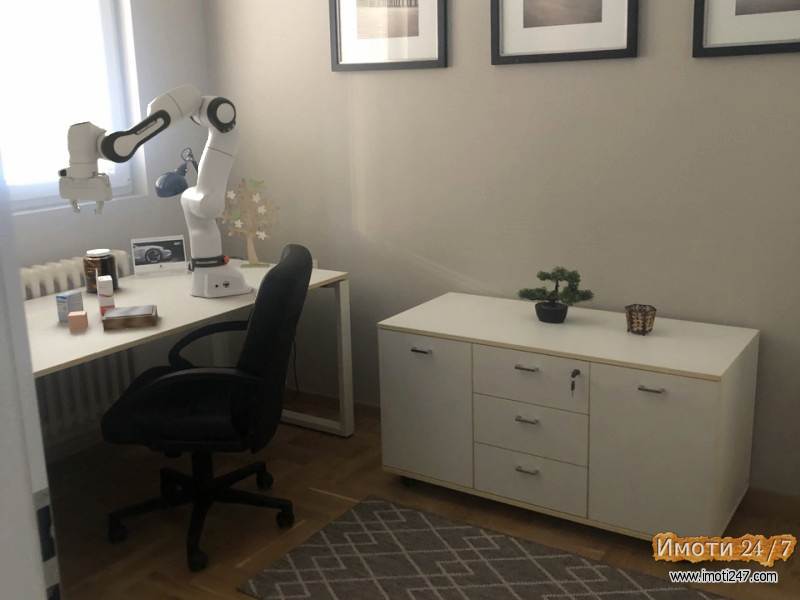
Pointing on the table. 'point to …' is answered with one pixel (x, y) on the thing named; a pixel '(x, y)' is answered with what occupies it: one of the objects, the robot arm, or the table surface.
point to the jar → (99, 268)
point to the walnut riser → (130, 317)
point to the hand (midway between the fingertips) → (87, 213)
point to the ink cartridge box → (105, 292)
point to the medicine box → (69, 304)
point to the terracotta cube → (78, 320)
